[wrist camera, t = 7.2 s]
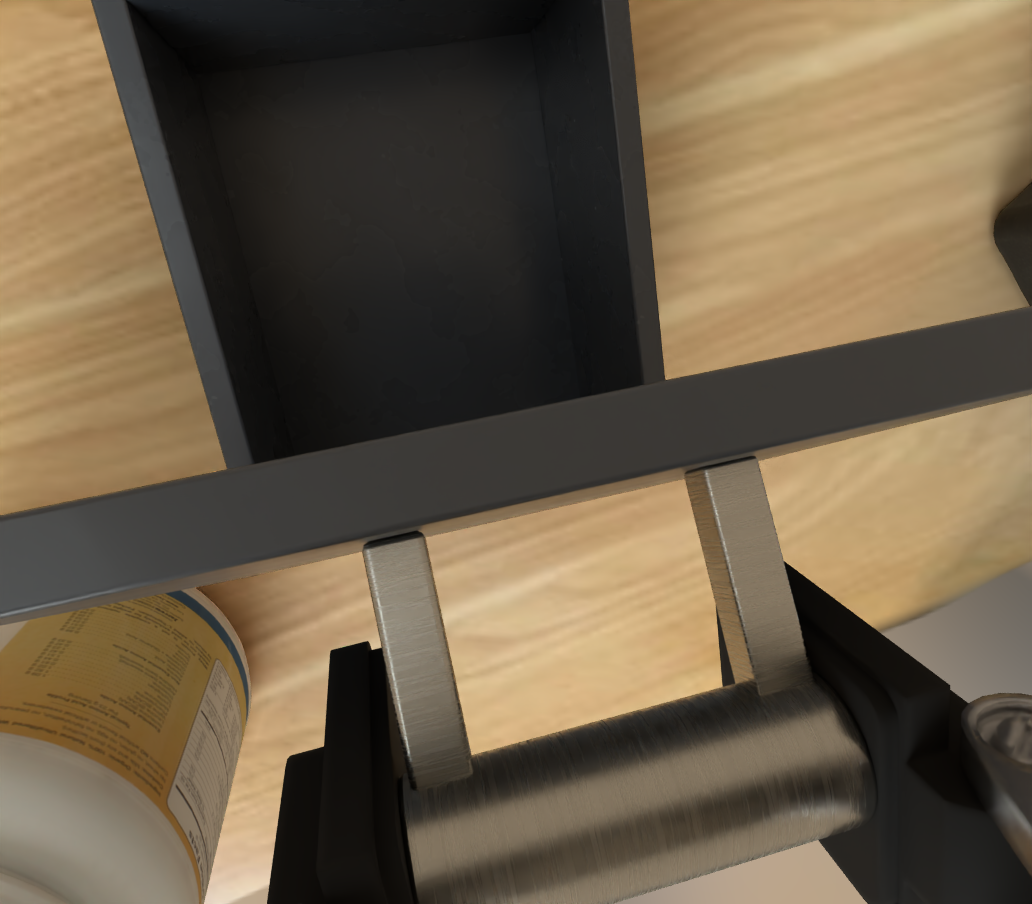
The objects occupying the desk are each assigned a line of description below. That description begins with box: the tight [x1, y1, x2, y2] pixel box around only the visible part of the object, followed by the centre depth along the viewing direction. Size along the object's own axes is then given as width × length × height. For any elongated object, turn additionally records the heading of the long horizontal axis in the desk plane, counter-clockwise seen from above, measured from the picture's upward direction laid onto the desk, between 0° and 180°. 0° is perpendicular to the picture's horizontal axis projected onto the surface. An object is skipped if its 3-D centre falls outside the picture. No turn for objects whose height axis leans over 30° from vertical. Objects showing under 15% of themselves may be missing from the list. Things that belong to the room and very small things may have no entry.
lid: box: [0, 306, 1032, 904], centre depth 14 cm, size 16×14×5 cm
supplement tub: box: [0, 588, 251, 904], centre depth 23 cm, size 12×12×17 cm
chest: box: [91, 0, 665, 469], centre depth 25 cm, size 16×14×9 cm
